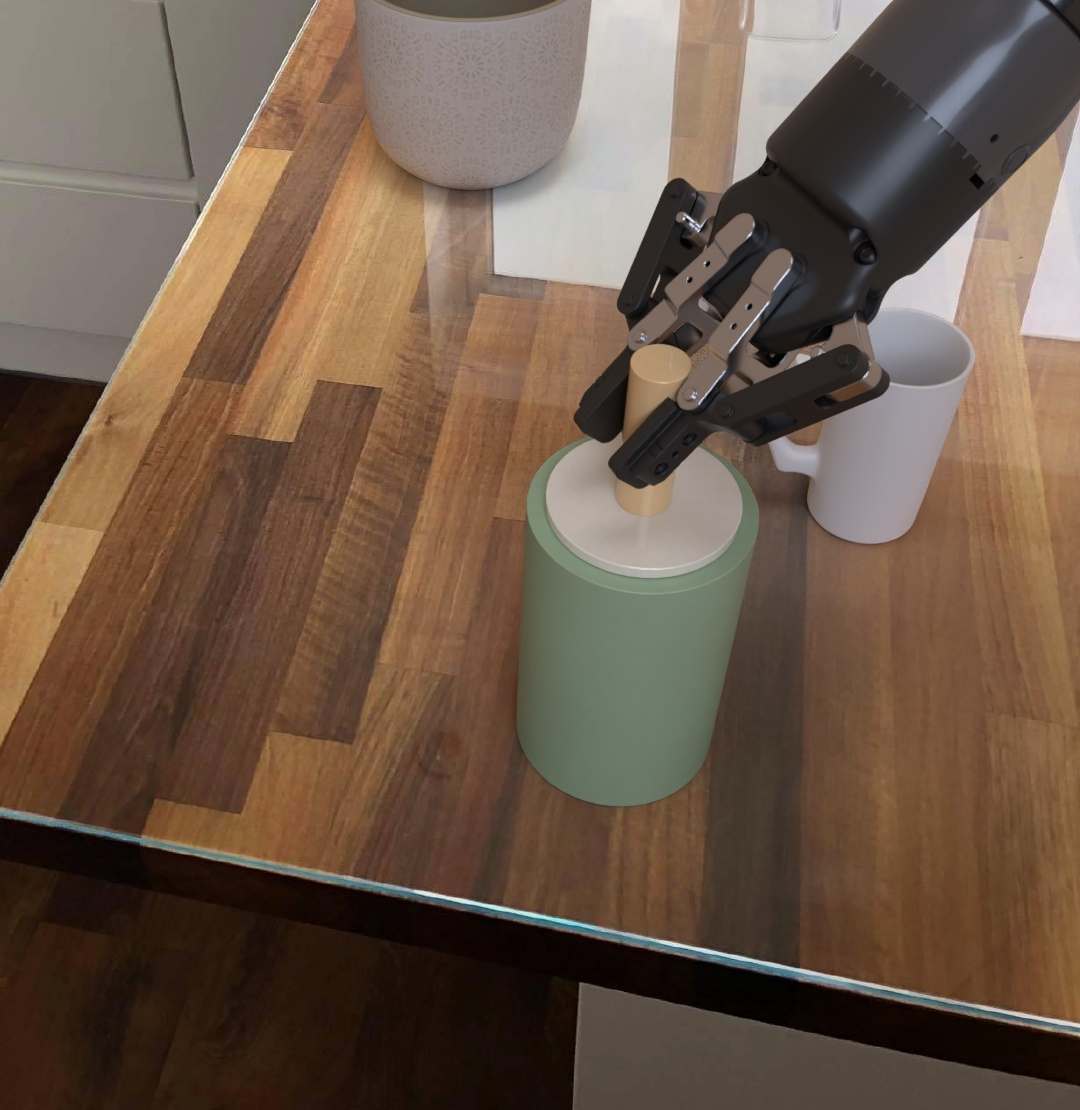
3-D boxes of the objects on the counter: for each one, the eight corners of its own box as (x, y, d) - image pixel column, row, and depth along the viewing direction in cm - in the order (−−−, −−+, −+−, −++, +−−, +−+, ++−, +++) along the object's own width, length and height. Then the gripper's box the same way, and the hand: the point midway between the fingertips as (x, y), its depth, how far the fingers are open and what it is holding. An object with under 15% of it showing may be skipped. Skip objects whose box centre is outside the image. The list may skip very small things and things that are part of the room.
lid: (782, 514, 60) (816, 369, 54) (643, 610, 56) (663, 467, 51) (641, 415, 64) (658, 272, 59) (505, 499, 61) (509, 356, 55)
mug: (913, 471, 84) (966, 311, 75) (926, 553, 80) (983, 392, 71) (743, 459, 85) (775, 300, 76) (746, 539, 81) (781, 379, 72)
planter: (551, 88, 116) (561, -99, 105) (606, 202, 104) (623, 5, 93) (349, 112, 114) (336, -75, 103) (381, 230, 103) (371, 33, 92)
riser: (751, 733, 72) (808, 515, 60) (611, 843, 67) (643, 632, 56) (613, 619, 77) (640, 399, 65) (476, 714, 73) (478, 497, 61)
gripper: (771, -19, 53) (475, 325, 59) (1015, 160, 44) (638, 544, 50) (859, 79, 58) (579, 386, 64) (1094, 258, 49) (744, 594, 55)
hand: (607, 454), depth 57 cm, fingers closed on lid, 2 cm apart
